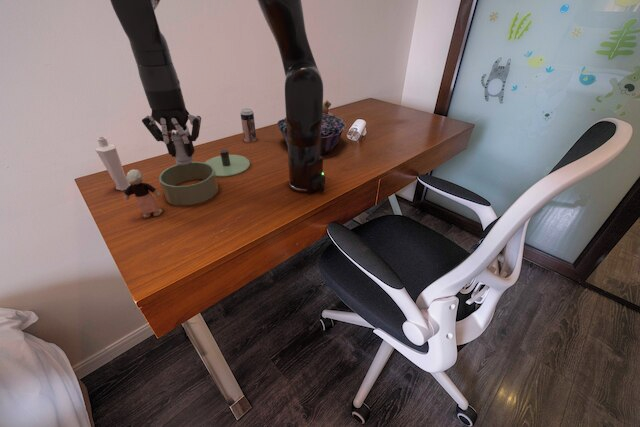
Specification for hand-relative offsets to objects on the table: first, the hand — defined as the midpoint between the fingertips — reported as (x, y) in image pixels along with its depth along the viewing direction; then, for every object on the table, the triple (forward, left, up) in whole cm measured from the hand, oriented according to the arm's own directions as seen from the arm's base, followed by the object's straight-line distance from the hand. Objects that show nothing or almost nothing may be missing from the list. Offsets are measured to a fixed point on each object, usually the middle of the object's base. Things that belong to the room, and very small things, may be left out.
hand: (182, 155), depth 74 cm
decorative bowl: (-4, -50, -12) cm, 51 cm away
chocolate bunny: (+7, -75, -12) cm, 76 cm away
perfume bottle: (+18, +11, -12) cm, 24 cm away
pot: (0, 0, -12) cm, 12 cm away
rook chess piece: (0, 0, -2) cm, 2 cm away
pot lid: (+5, -16, -11) cm, 20 cm away
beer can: (+16, -36, -12) cm, 41 cm away
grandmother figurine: (0, +13, -12) cm, 18 cm away
